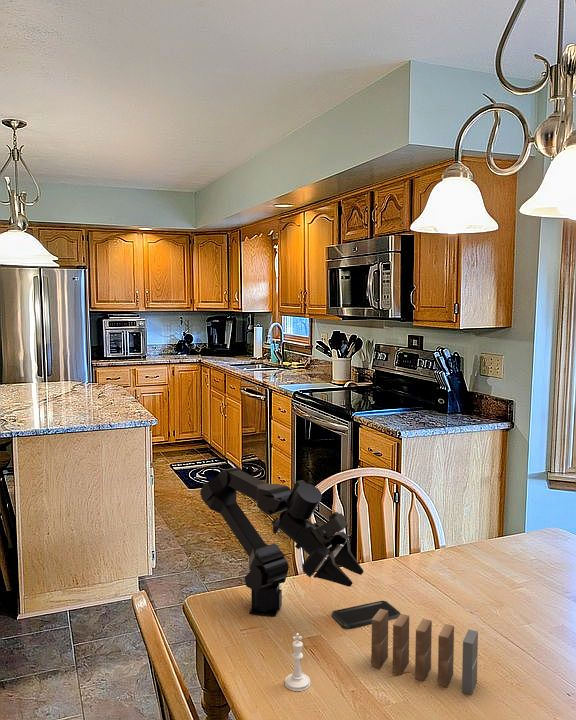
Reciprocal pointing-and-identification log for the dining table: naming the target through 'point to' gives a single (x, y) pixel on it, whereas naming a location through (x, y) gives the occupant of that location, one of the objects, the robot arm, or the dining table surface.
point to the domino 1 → (379, 639)
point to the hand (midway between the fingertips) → (357, 578)
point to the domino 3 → (423, 649)
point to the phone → (363, 614)
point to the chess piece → (297, 669)
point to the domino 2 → (400, 644)
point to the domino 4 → (445, 655)
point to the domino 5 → (469, 662)
